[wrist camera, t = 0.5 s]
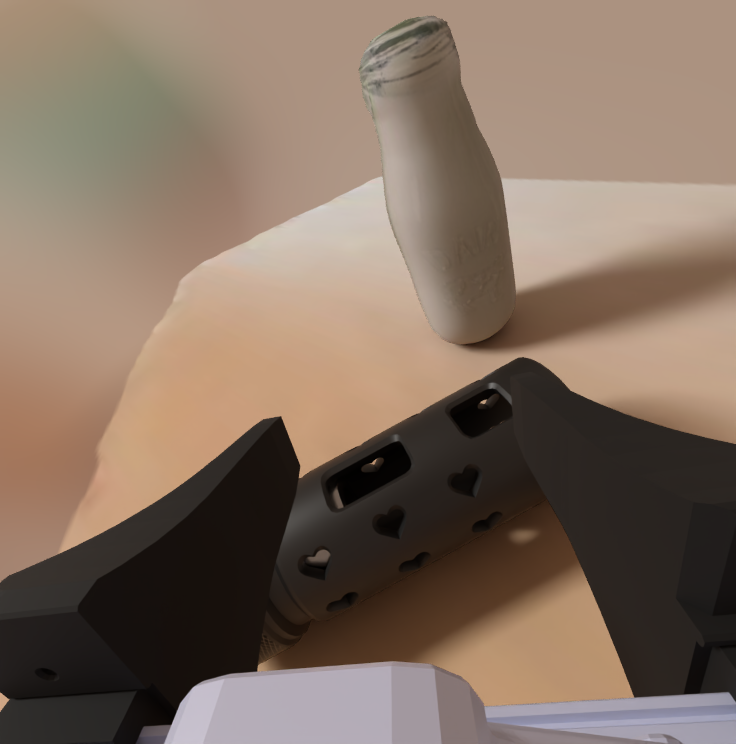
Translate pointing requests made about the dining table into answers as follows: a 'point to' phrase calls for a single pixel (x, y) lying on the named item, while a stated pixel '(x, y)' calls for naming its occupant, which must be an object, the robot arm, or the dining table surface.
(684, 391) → the dining table surface
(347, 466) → the muzzle brake
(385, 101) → the grey bottle
